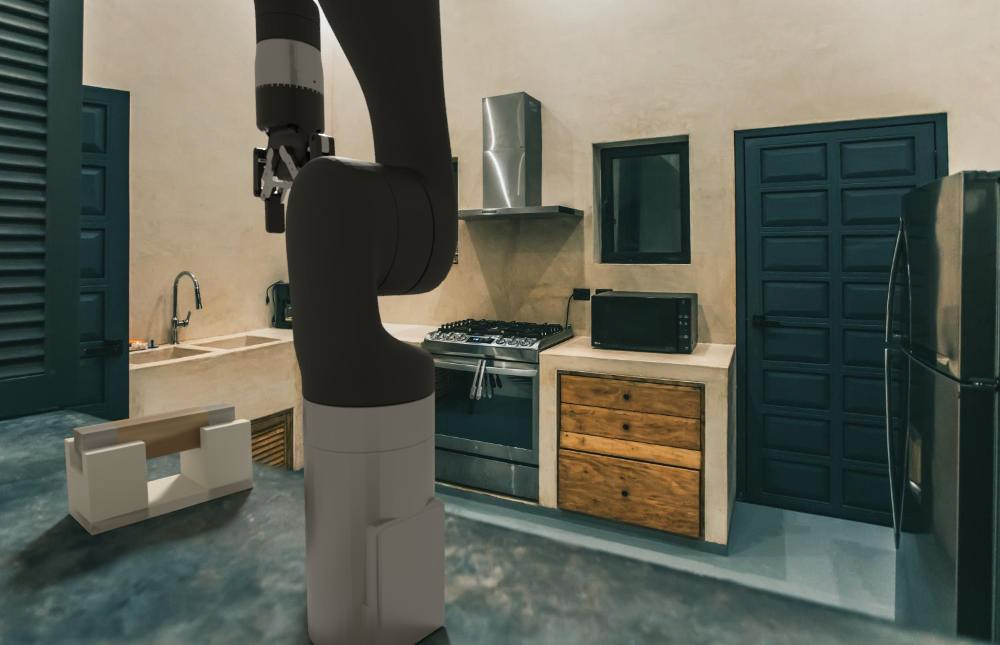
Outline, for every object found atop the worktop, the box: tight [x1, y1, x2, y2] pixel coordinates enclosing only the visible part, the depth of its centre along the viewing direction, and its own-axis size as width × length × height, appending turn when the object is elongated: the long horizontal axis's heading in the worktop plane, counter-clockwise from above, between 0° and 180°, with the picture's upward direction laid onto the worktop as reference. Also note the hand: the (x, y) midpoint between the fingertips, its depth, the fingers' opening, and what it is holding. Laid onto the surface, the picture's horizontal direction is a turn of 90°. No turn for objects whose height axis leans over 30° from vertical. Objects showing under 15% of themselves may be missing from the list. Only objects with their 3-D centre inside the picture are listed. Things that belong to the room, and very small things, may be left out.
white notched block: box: [63, 418, 254, 536], centre depth 63 cm, size 8×16×8 cm, turn 140°
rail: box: [72, 401, 236, 472], centre depth 63 cm, size 3×15×4 cm, turn 140°
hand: (293, 232), depth 68 cm, fingers open, 8 cm apart
